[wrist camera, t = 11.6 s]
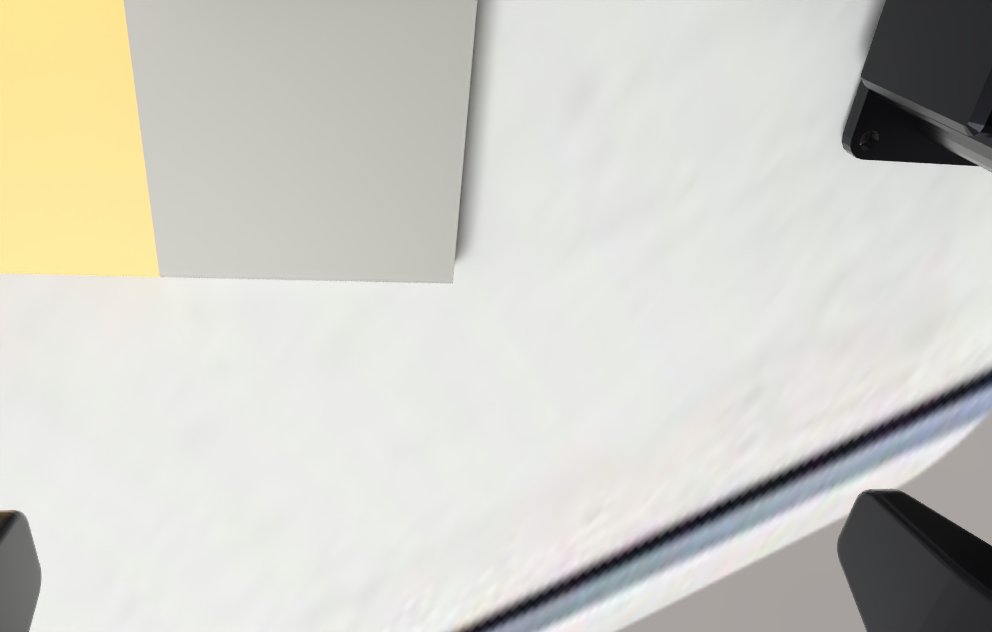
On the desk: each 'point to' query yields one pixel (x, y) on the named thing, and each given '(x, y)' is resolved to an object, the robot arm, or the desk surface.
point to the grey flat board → (234, 138)
